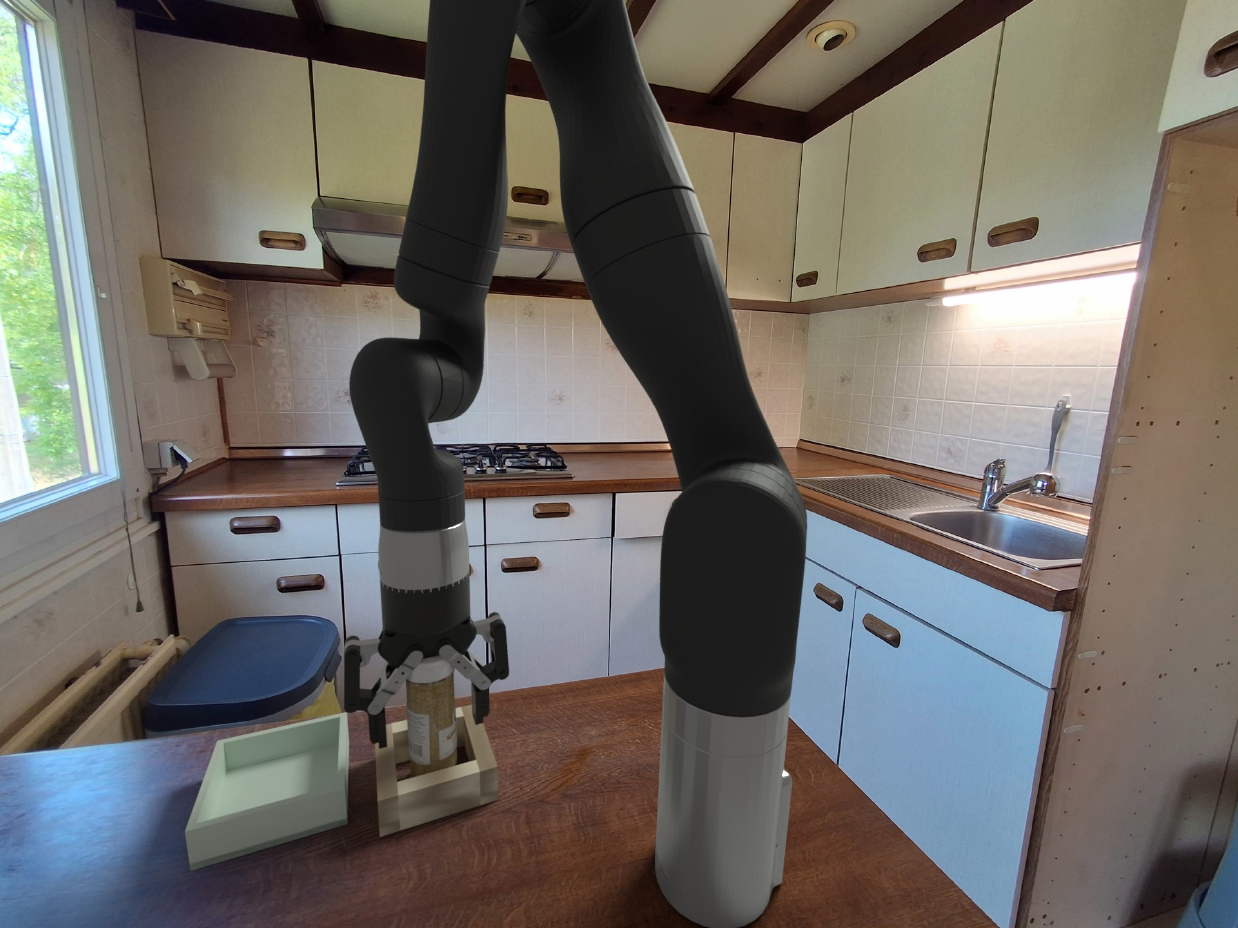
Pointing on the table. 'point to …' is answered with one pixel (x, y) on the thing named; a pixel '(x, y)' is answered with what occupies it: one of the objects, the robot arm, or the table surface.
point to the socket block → (434, 778)
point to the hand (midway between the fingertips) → (432, 730)
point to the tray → (270, 790)
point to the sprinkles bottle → (431, 716)
